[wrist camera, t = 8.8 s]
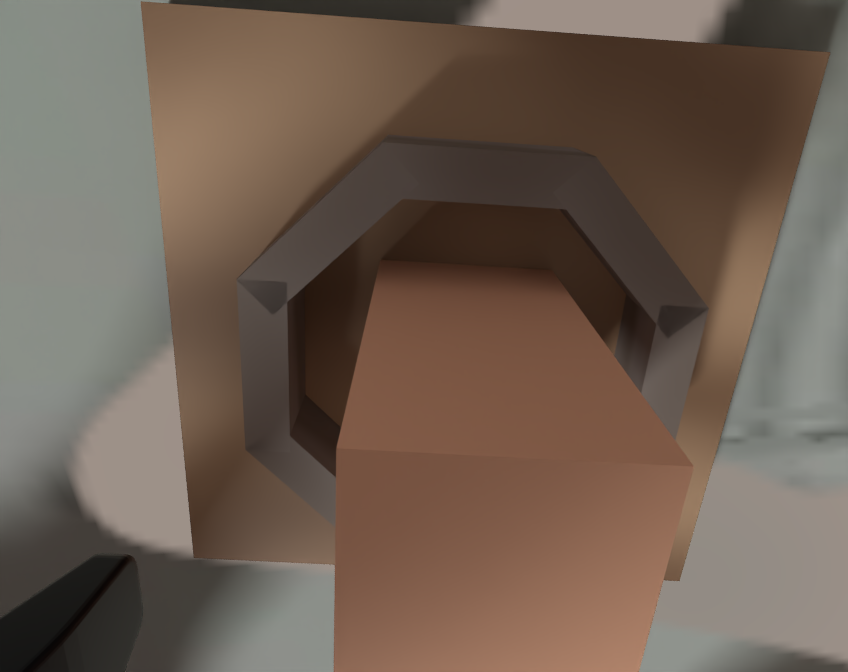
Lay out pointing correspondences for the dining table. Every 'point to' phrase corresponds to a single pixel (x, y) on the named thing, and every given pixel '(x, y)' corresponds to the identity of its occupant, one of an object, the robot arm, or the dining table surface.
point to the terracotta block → (496, 483)
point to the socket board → (446, 222)
